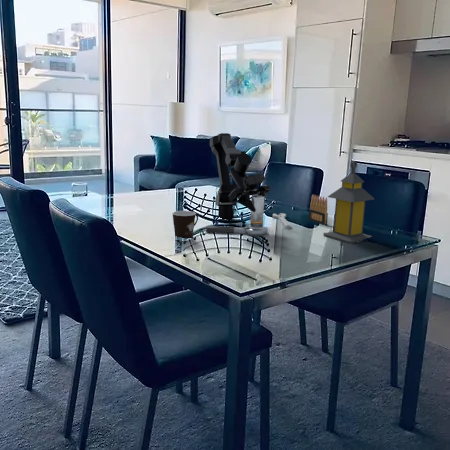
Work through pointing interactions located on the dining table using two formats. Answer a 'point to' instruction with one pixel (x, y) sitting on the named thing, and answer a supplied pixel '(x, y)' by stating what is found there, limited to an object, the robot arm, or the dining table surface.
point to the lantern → (349, 209)
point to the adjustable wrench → (282, 220)
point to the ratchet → (238, 230)
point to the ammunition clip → (318, 210)
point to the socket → (257, 211)
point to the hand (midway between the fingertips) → (259, 210)
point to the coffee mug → (184, 223)
